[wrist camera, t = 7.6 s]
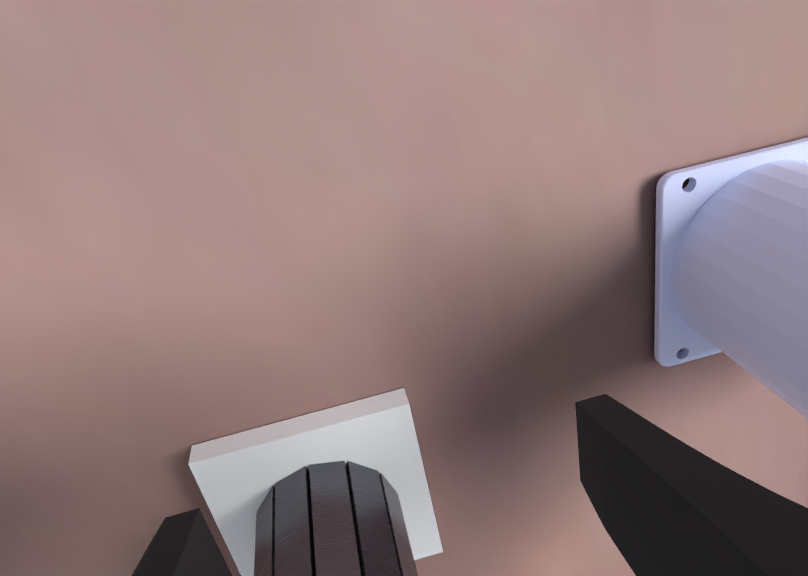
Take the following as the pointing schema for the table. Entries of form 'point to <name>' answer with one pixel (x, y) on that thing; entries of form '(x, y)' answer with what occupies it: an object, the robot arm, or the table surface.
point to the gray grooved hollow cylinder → (332, 525)
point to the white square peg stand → (312, 444)
